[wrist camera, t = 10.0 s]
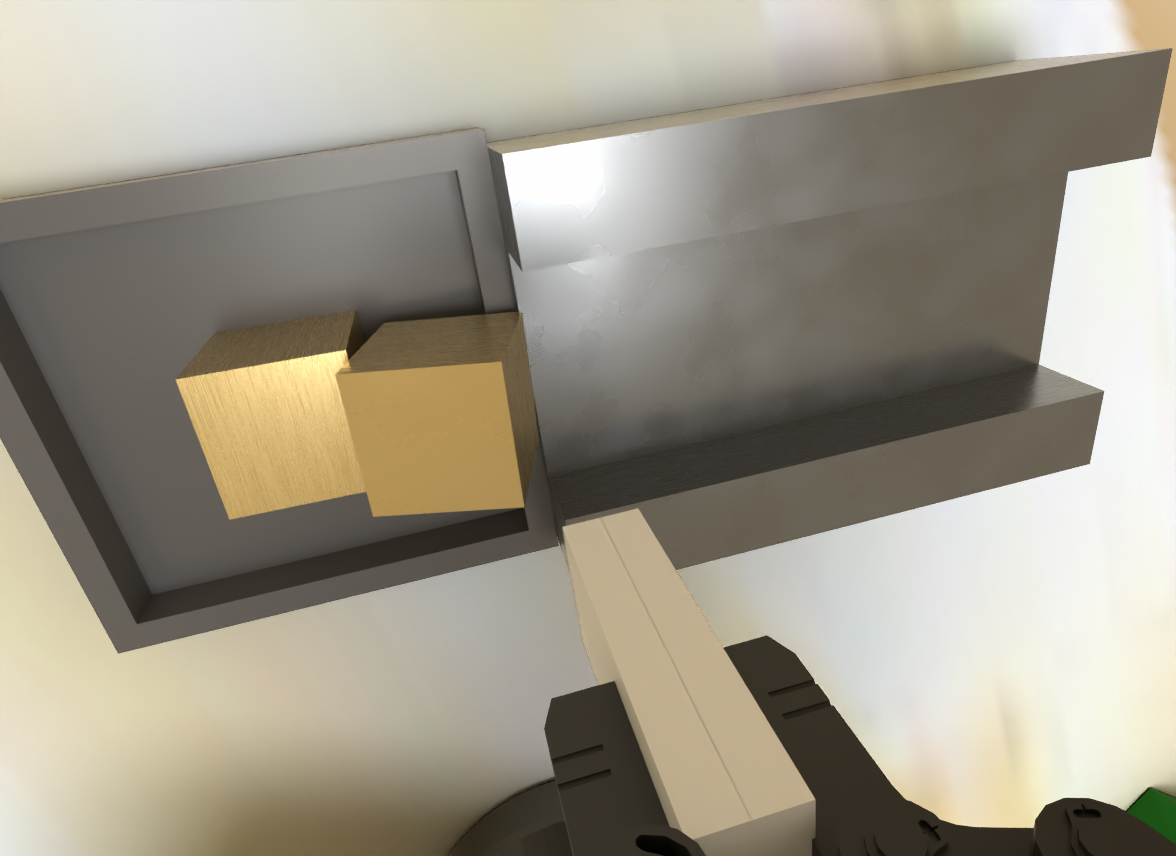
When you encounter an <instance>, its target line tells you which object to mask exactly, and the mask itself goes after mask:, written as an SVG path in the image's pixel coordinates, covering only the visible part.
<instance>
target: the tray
mask: <svg viewBox="0 0 1176 856" xmlns="http://www.w3.org/2000/svg"><path fill="white" fill-rule="evenodd" d="M350 310H356V312H357V316H358V320H359V324H360V328H361V332H362V336H363V339H364V343H366V342H367V340H368V339H369V338H370V337H371V336H372V335H373V334H374V333H375V332H376V331H377V330H378V329H379V328H380V327H381V326H382V325H383V324H384V323H388V322H400V321H412V320H424V319H436V318H448V317H460V316H472V315H484V314H496V313H508V312H517V311H516V305H515V300H514V294H513V288H512V283H511V277H510V272H509V266H508V261H507V255H506V249H505V244H504V238H503V233H502V227H501V222H500V216H499V210H498V205H497V199H496V194H495V188H494V183H493V177H492V172H491V166H490V160H489V155H488V149H487V144H486V138H485V133H484V129H481V128H478V127H477V128H470V129H464V130H457V131H451V132H444V133H437V134H431V135H424V136H418V137H411V138H404V139H398V140H391V141H385V142H378V143H371V144H365V145H358V146H352V147H345V148H338V149H332V150H325V151H319V152H312V153H305V154H299V155H292V156H286V157H279V158H272V159H266V160H259V161H253V162H246V163H240V164H233V165H226V166H220V167H213V168H207V169H200V170H193V171H187V172H180V173H174V174H167V175H160V176H154V177H147V178H141V179H134V180H127V181H121V182H114V183H108V184H101V185H94V186H88V187H81V188H75V189H68V190H61V191H55V192H48V193H42V194H35V195H28V196H22V197H15V198H9V199H2V200H0V438H1V440H2V442H3V444H4V446H5V448H6V449H7V451H8V453H9V455H10V457H11V459H12V460H13V462H14V464H15V466H16V468H17V469H18V471H19V473H20V475H21V477H22V479H23V480H24V482H25V484H26V486H27V488H28V490H29V491H30V493H31V495H32V497H33V499H34V501H35V502H36V504H37V506H38V508H39V510H40V512H41V513H42V515H43V517H44V519H45V521H46V522H47V524H48V526H49V528H50V530H51V532H52V533H53V535H54V537H55V539H56V541H57V543H58V544H59V546H60V548H61V550H62V552H63V554H64V555H65V557H66V559H67V561H68V563H69V564H70V566H71V568H72V570H73V572H74V574H75V575H76V577H77V579H78V581H79V583H80V585H81V586H82V588H83V590H84V592H85V594H86V596H87V597H88V599H89V601H90V603H91V605H92V607H93V608H94V610H95V612H96V614H97V616H98V617H99V619H100V621H101V623H102V625H103V627H104V628H105V630H106V632H107V634H108V636H109V638H110V639H111V641H112V643H113V645H114V647H115V649H116V650H117V652H118V653H122V652H126V651H130V650H134V649H139V648H143V647H147V646H151V645H155V644H159V643H163V642H167V641H171V640H175V639H179V638H184V637H188V636H192V635H196V634H200V633H204V632H208V631H212V630H216V629H220V628H224V627H228V626H233V625H237V624H241V623H245V622H249V621H253V620H257V619H261V618H265V617H269V616H273V615H278V614H282V613H286V612H290V611H294V610H298V609H302V608H306V607H310V606H314V605H318V604H322V603H327V602H331V601H335V600H339V599H343V598H347V597H351V596H355V595H359V594H363V593H367V592H372V591H376V590H380V589H384V588H388V587H392V586H396V585H400V584H404V583H408V582H412V581H416V580H421V579H425V578H429V577H433V576H437V575H441V574H445V573H449V572H453V571H457V570H461V569H466V568H470V567H474V566H478V565H482V564H486V563H490V562H494V561H498V560H502V559H506V558H511V557H515V556H519V555H523V554H527V553H531V552H535V551H539V550H543V549H547V548H551V547H555V546H559V544H558V539H557V533H556V528H555V522H554V517H553V511H552V505H551V500H550V494H549V489H548V483H547V478H546V472H545V467H544V461H543V455H542V450H541V444H540V439H539V442H538V447H537V452H536V456H535V461H534V465H533V470H532V475H531V479H530V484H529V489H528V493H527V498H526V502H525V507H522V508H506V509H489V510H473V511H457V512H441V513H425V514H409V515H393V516H377V517H373V514H372V511H371V507H370V503H369V499H368V496H367V492H362V493H357V494H352V495H347V496H343V497H338V498H333V499H328V500H323V501H318V502H313V503H308V504H304V505H299V506H294V507H289V508H284V509H279V510H274V511H269V512H265V513H260V514H255V515H250V516H245V517H240V518H235V519H229V517H228V514H227V512H226V509H225V507H224V504H223V501H222V499H221V496H220V494H219V491H218V488H217V486H216V483H215V481H214V478H213V475H212V473H211V470H210V468H209V465H208V463H207V460H206V457H205V455H204V452H203V450H202V447H201V444H200V442H199V439H198V437H197V434H196V432H195V429H194V426H193V424H192V421H191V419H190V416H189V413H188V411H187V408H186V406H185V403H184V401H183V398H182V395H181V393H180V390H179V388H178V385H177V382H176V380H175V379H176V378H177V377H178V376H179V375H180V374H181V372H182V371H183V370H184V369H185V368H186V366H187V365H188V364H189V363H190V362H191V361H192V359H193V358H194V357H195V356H196V355H197V354H198V352H199V351H200V350H201V349H202V348H203V346H204V345H205V344H206V343H207V342H208V341H209V339H210V338H211V337H212V336H213V335H214V333H217V332H223V331H229V330H235V329H241V328H247V327H253V326H259V325H265V324H271V323H278V322H284V321H290V320H296V319H302V318H308V317H314V316H320V315H326V314H332V313H338V312H344V311H350Z"/></svg>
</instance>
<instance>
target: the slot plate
mask: <svg viewBox="0 0 1176 856" xmlns="http://www.w3.org/2000/svg"><path fill="white" fill-rule="evenodd" d="M1171 52H1172V48H1170V49H1157V50H1145V51H1132V52H1119V53H1107V54H1094V55H1082V56H1069V57H1056V58H1044V59H1031V60H1019V61H1011V62H1005V63H998V64H992V65H986V66H979V67H973V68H966V69H960V70H953V71H947V72H940V73H934V74H928V75H921V76H915V77H908V78H902V79H895V80H889V81H882V82H876V83H870V84H863V85H857V86H850V87H844V88H837V89H831V90H825V91H818V92H812V93H805V94H799V95H792V96H786V97H779V98H773V99H767V100H760V101H754V102H747V103H741V104H734V105H728V106H721V107H715V108H709V109H702V110H696V111H689V112H683V113H676V114H670V115H663V116H657V117H651V118H644V119H638V120H631V121H625V122H618V123H612V124H605V125H599V126H593V127H586V128H580V129H573V130H567V131H560V132H554V133H547V134H541V135H535V136H528V137H522V138H515V139H509V140H502V141H496V142H489V143H486V144H487V149H488V155H489V160H490V166H491V172H492V177H493V183H494V188H495V194H496V199H497V205H498V210H499V216H500V222H501V227H502V233H503V238H504V244H505V249H506V255H507V261H508V266H509V272H510V277H511V283H512V288H513V294H514V300H515V305H516V311H517V312H521V311H522V315H523V322H524V329H525V337H526V344H527V351H528V358H529V365H530V372H531V379H532V386H533V394H534V401H535V408H536V415H537V422H538V429H539V436H540V438H539V439H540V444H541V450H542V455H543V461H544V467H545V472H546V478H547V483H548V489H549V494H550V500H551V505H552V511H553V517H554V522H555V528H556V533H557V537H558V540H559V543H560V545H561V548H562V551H563V554H564V557H565V560H566V563H567V565H568V568H569V562H568V557H567V551H566V545H565V540H564V534H563V528H562V527H564V526H568V525H572V524H576V523H580V522H584V521H589V520H593V519H597V518H601V517H605V516H609V515H613V514H617V513H621V512H625V511H629V510H633V509H637V508H638V509H639V511H640V512H641V514H642V515H643V517H644V519H645V520H646V522H647V524H648V525H649V527H650V529H651V530H652V532H653V533H654V535H655V537H656V538H657V540H658V542H659V543H660V545H661V547H662V548H663V550H664V552H665V553H666V555H667V556H668V558H669V560H670V561H671V563H672V565H673V566H674V568H675V570H677V569H681V568H685V567H689V566H693V565H697V564H701V563H705V562H708V561H712V560H716V559H720V558H724V557H728V556H732V555H736V554H740V553H744V552H747V551H751V550H755V549H759V548H763V547H767V546H771V545H775V544H779V543H783V542H786V541H790V540H794V539H798V538H802V537H806V536H810V535H814V534H818V533H822V532H825V531H829V530H833V529H837V528H841V527H845V526H849V525H853V524H857V523H861V522H865V521H868V520H872V519H876V518H880V517H884V516H888V515H892V514H896V513H900V512H904V511H907V510H911V509H915V508H919V507H923V506H927V505H931V504H935V503H939V502H943V501H946V500H950V499H954V498H958V497H962V496H966V495H970V494H974V493H978V492H982V491H985V490H989V489H993V488H997V487H1001V486H1005V485H1009V484H1013V483H1017V482H1021V481H1024V480H1028V479H1032V478H1036V477H1040V476H1044V475H1048V474H1052V473H1056V472H1060V471H1063V470H1067V469H1071V468H1075V467H1079V466H1083V465H1087V464H1090V460H1091V455H1092V450H1093V445H1094V440H1095V435H1096V430H1097V425H1098V420H1099V415H1100V410H1101V405H1102V400H1103V394H1104V391H1102V390H1100V389H1098V388H1095V387H1093V386H1090V385H1088V384H1085V383H1083V382H1080V381H1078V380H1075V379H1073V378H1070V377H1068V376H1065V375H1063V374H1060V373H1058V372H1056V371H1053V370H1051V369H1048V368H1046V367H1043V366H1041V365H1039V359H1040V352H1041V345H1042V339H1043V332H1044V326H1045V319H1046V313H1047V306H1048V300H1049V293H1050V287H1051V280H1052V274H1053V267H1054V261H1055V254H1056V248H1057V241H1058V234H1059V228H1060V221H1061V215H1062V208H1063V202H1064V195H1065V189H1066V182H1067V176H1068V171H1074V170H1079V169H1085V168H1090V167H1096V166H1101V165H1106V164H1112V163H1117V162H1123V161H1128V160H1134V159H1139V158H1144V157H1150V156H1151V153H1152V148H1153V143H1154V138H1155V133H1156V128H1157V123H1158V118H1159V113H1160V108H1161V103H1162V98H1163V93H1164V88H1165V83H1166V78H1167V73H1168V68H1169V63H1170V58H1171ZM569 571H570V568H569Z"/></svg>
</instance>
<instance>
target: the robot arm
mask: <svg viewBox="0 0 1176 856" xmlns="http://www.w3.org/2000/svg"><path fill="white" fill-rule="evenodd" d="M562 528H563V534H564V540H565V545H566V551H567V557H568V562H569V568H570V574H571V579H572V585H573V591H574V596H575V602H576V608H577V613H578V619H579V625H580V630H581V636H582V640H583V643H584V646H585V649H586V652H587V655H588V658H589V661H590V664H591V666H592V669H593V672H594V675H595V678H596V681H597V684H598V686H594V687H591V688H587V689H584V690H580V691H577V692H573V693H570V694H566V695H563V696H559V697H556V698H552V699H551V703H550V707H549V712H548V716H547V720H546V724H545V728H544V729H545V734H546V738H547V743H548V747H549V752H550V757H551V761H552V766H553V770H554V775H555V779H556V781H552V782H549V783H546V784H543V785H541V786H538V787H536V788H533V789H531V790H529V791H526V792H524V793H522V794H520V795H518V796H516V797H514V798H512V799H511V800H509V801H507V802H505V803H504V804H502V805H500V806H499V807H497V808H496V809H494V810H493V811H492V812H490V813H489V814H487V815H486V816H485V817H484V818H482V819H481V820H480V821H479V822H477V823H476V824H475V825H474V826H473V827H472V828H471V829H470V830H469V831H468V832H467V833H466V834H465V835H464V836H463V837H462V838H461V839H460V841H459V842H458V843H457V844H456V846H455V847H454V848H453V850H452V851H451V853H450V854H449V856H1176V844H1174V843H1173V842H1172V841H1170V840H1169V839H1167V838H1166V837H1165V836H1163V835H1162V834H1160V833H1159V832H1157V831H1156V830H1155V829H1153V828H1152V827H1150V826H1149V825H1148V824H1146V823H1145V822H1143V821H1142V820H1140V819H1138V818H1136V817H1134V816H1133V815H1131V814H1129V813H1127V812H1125V811H1124V810H1122V809H1120V808H1118V807H1117V806H1113V805H1110V804H1107V803H1103V802H1100V801H1096V800H1093V799H1090V798H1063V799H1060V800H1058V801H1055V802H1053V803H1050V804H1048V805H1046V806H1045V807H1044V808H1043V810H1042V811H1041V813H1040V814H1039V816H1038V817H1037V818H1036V820H1035V825H1034V828H988V827H970V826H961V825H955V824H952V823H949V822H946V821H942V820H940V819H939V818H938V817H937V816H936V815H935V814H934V813H932V812H930V811H928V810H926V809H924V808H922V807H921V806H919V805H917V804H915V803H913V802H911V801H907V800H906V799H905V798H903V797H902V795H901V794H900V793H899V792H898V791H897V790H896V789H895V788H894V787H893V786H892V784H891V783H890V782H889V780H888V779H887V778H886V776H885V775H884V774H883V772H882V771H881V769H880V768H879V767H878V765H877V764H876V763H875V761H874V760H873V759H872V757H871V756H870V755H869V753H868V752H867V751H866V749H865V748H864V746H863V745H862V744H861V742H860V741H859V740H858V738H857V737H856V736H855V734H854V733H853V732H852V730H851V729H850V727H849V726H848V725H847V723H846V722H845V721H844V719H843V718H842V717H841V715H840V714H839V713H838V711H837V710H836V708H835V707H834V706H831V704H830V702H829V699H828V698H827V696H826V695H825V694H824V692H823V691H822V690H821V688H820V687H819V685H818V684H815V682H814V679H813V677H812V676H811V675H810V673H809V672H808V671H807V669H806V668H805V666H804V665H803V664H802V662H801V661H800V660H799V658H798V657H797V656H796V654H795V653H793V652H792V651H790V650H789V649H787V648H786V647H784V646H782V645H781V644H779V643H778V642H776V641H775V640H773V639H772V638H770V637H769V636H763V637H760V638H756V639H753V640H749V641H746V642H742V643H739V644H735V645H732V646H728V647H725V648H723V647H722V645H721V643H720V642H719V640H718V639H717V637H716V635H715V634H714V632H713V630H712V629H711V627H710V625H709V624H708V622H707V621H706V619H705V617H704V616H703V614H702V612H701V611H700V609H699V607H698V606H697V604H696V602H695V601H694V599H693V598H692V596H691V594H690V593H689V591H688V589H687V588H686V586H685V584H684V583H683V581H682V579H681V578H680V576H679V575H678V573H677V571H676V570H675V568H674V566H673V565H672V563H671V561H670V560H669V558H668V556H667V555H666V553H665V552H664V550H663V548H662V547H661V545H660V543H659V542H658V540H657V538H656V537H655V535H654V533H653V532H652V530H651V529H650V527H649V525H648V524H647V522H646V520H645V519H644V517H643V515H642V514H641V512H640V511H639V509H638V508H637V509H633V510H629V511H625V512H621V513H617V514H613V515H609V516H605V517H601V518H597V519H593V520H589V521H584V522H580V523H576V524H572V525H568V526H564V527H562Z"/></svg>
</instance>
